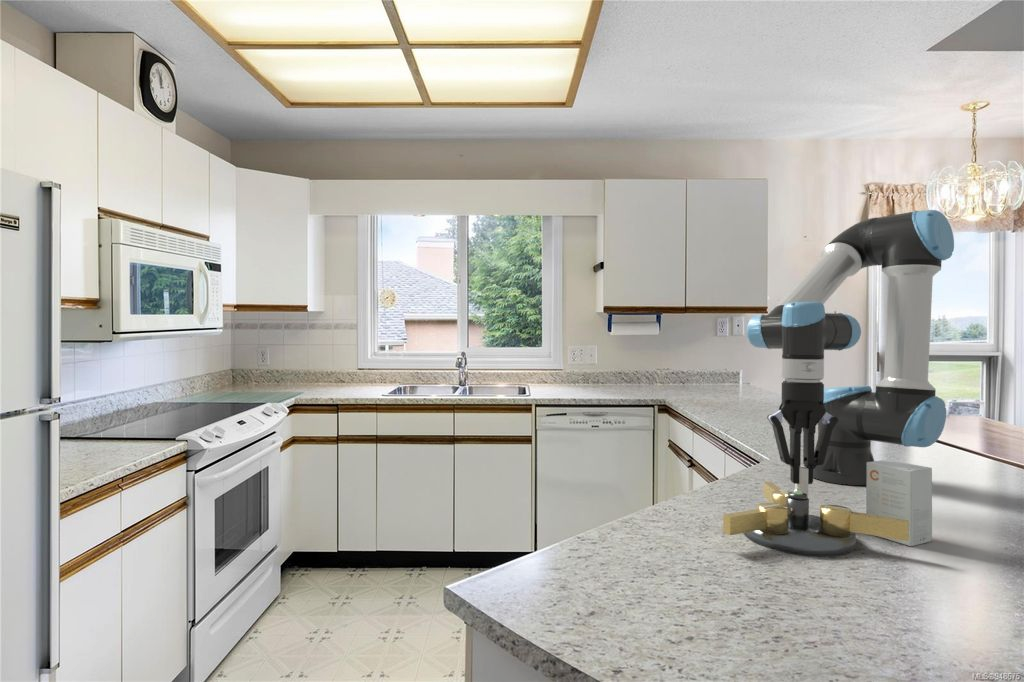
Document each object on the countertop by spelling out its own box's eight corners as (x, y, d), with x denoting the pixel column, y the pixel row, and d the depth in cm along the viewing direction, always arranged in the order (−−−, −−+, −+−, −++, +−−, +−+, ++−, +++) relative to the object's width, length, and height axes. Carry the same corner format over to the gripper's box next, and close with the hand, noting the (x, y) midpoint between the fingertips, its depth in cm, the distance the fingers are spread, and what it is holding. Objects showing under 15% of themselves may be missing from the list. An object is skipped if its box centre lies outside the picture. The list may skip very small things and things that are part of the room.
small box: (932, 541, 105) (933, 467, 105) (910, 547, 103) (911, 470, 102) (886, 528, 113) (887, 458, 113) (864, 533, 110) (865, 461, 110)
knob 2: (803, 519, 111) (803, 496, 111) (776, 518, 111) (776, 495, 111) (779, 500, 124) (779, 479, 123) (755, 499, 124) (755, 478, 124)
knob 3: (817, 532, 103) (817, 507, 103) (822, 525, 107) (822, 501, 107) (907, 548, 96) (908, 521, 96) (909, 540, 100) (909, 514, 100)
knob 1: (771, 523, 108) (771, 500, 108) (794, 531, 104) (794, 507, 104) (716, 533, 103) (716, 508, 103) (737, 542, 98) (737, 516, 98)
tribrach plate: (731, 520, 117) (732, 475, 117) (828, 523, 115) (829, 477, 115) (760, 554, 99) (761, 501, 99) (876, 558, 98) (876, 504, 97)
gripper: (774, 381, 116) (773, 504, 116) (845, 382, 115) (844, 506, 115) (762, 378, 123) (761, 494, 124) (828, 379, 122) (827, 495, 122)
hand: (801, 499), depth 119 cm, fingers closed
